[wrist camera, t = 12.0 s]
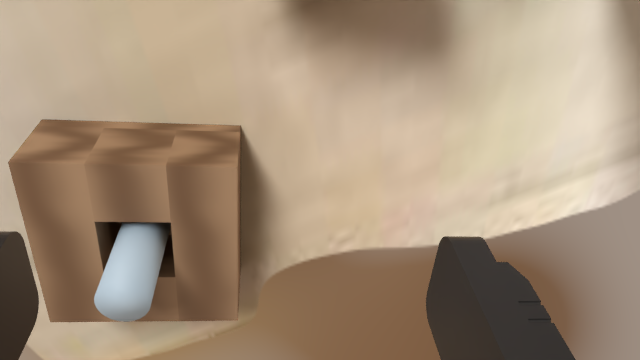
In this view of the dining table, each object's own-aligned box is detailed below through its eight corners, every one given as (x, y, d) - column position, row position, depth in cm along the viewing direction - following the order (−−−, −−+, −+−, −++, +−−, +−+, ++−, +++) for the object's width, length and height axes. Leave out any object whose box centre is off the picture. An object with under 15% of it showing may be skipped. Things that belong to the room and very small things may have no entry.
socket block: (240, 125, 40) (237, 167, 35) (240, 268, 47) (237, 320, 42) (41, 119, 38) (8, 162, 33) (73, 268, 46) (50, 322, 41)
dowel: (172, 191, 41) (148, 282, 33) (175, 227, 43) (152, 321, 35) (126, 190, 41) (90, 281, 33) (131, 226, 43) (97, 321, 34)
